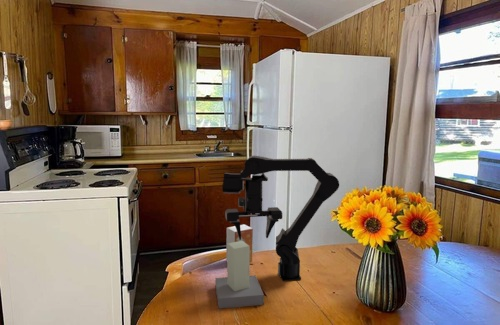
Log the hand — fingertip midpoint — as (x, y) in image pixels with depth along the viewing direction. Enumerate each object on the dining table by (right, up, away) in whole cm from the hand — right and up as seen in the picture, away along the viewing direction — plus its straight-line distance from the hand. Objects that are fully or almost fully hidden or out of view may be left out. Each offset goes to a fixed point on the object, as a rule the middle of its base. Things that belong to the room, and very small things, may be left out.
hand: (253, 238), depth 118 cm
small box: (-5, -12, +14) cm, 19 cm away
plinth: (-5, -15, -12) cm, 20 cm away
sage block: (-5, -12, -13) cm, 18 cm away
